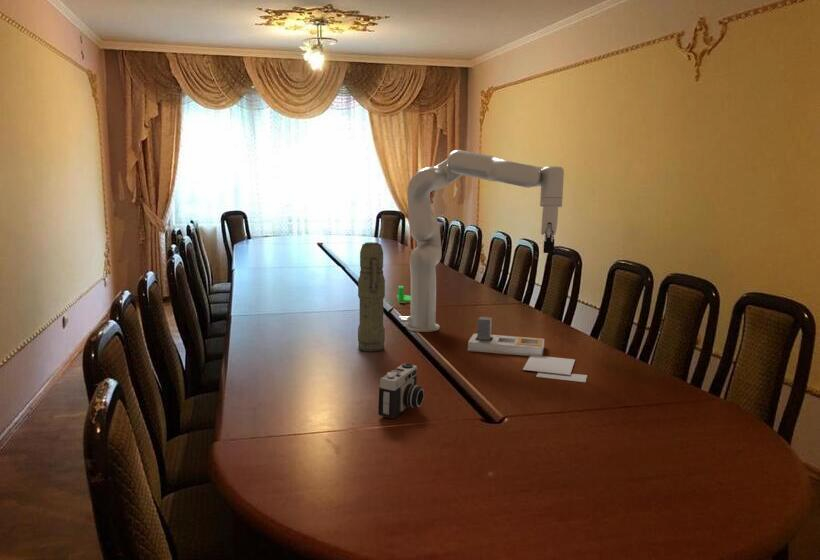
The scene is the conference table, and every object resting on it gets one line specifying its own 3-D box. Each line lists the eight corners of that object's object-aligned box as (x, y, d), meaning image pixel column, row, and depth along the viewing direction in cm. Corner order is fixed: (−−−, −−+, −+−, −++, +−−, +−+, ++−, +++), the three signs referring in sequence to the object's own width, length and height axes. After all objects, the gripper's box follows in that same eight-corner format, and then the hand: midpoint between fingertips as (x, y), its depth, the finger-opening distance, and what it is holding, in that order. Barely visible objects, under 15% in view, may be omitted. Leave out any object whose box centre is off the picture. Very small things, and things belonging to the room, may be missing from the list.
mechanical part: (412, 304, 286) (412, 286, 284) (399, 304, 285) (399, 287, 284) (409, 299, 297) (409, 282, 296) (396, 299, 297) (396, 282, 295)
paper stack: (606, 364, 199) (606, 362, 199) (602, 390, 176) (602, 387, 176) (530, 356, 207) (530, 354, 207) (517, 380, 183) (517, 377, 183)
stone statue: (378, 342, 221) (379, 240, 215) (389, 351, 210) (390, 244, 204) (353, 344, 218) (353, 241, 212) (363, 353, 207) (363, 245, 201)
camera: (403, 422, 151) (404, 381, 149) (372, 414, 155) (372, 374, 154) (433, 405, 162) (434, 366, 161) (403, 398, 167) (403, 360, 165)
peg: (477, 348, 215) (478, 319, 213) (479, 345, 219) (479, 316, 217) (489, 349, 214) (490, 320, 212) (490, 346, 218) (491, 317, 216)
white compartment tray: (467, 350, 212) (468, 341, 211) (473, 341, 223) (473, 332, 223) (541, 356, 206) (542, 347, 205) (543, 347, 217) (544, 338, 217)
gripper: (541, 201, 232) (539, 248, 235) (538, 203, 215) (536, 253, 218) (562, 201, 230) (560, 249, 233) (561, 203, 214) (558, 254, 216)
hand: (548, 251), depth 226 cm, fingers open, 9 cm apart
